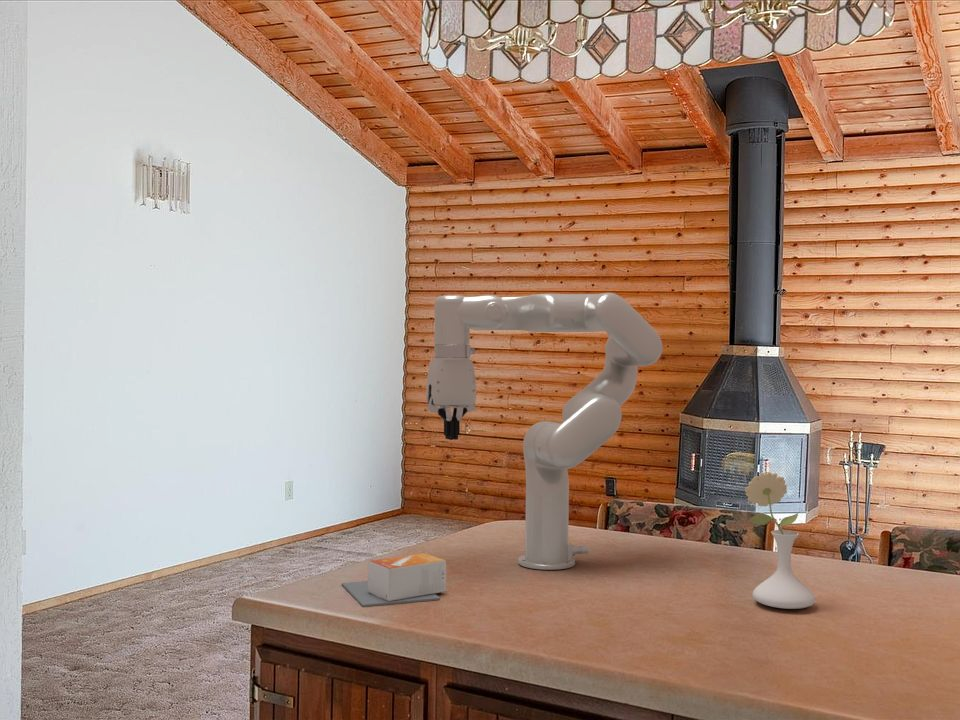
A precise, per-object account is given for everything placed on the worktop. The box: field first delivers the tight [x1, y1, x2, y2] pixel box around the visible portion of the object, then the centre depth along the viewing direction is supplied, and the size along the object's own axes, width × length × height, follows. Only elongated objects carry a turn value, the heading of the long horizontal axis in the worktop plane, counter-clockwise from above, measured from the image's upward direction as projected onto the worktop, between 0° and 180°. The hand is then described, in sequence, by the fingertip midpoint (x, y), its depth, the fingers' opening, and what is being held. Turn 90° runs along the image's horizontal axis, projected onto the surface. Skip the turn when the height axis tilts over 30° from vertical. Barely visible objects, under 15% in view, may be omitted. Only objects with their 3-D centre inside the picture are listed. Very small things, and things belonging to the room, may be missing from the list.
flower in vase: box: [744, 471, 817, 610], centre depth 178 cm, size 13×11×25 cm
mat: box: [341, 580, 441, 608], centre depth 185 cm, size 15×17×1 cm
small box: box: [367, 552, 447, 601], centre depth 183 cm, size 8×6×13 cm
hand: (451, 438), depth 202 cm, fingers closed
